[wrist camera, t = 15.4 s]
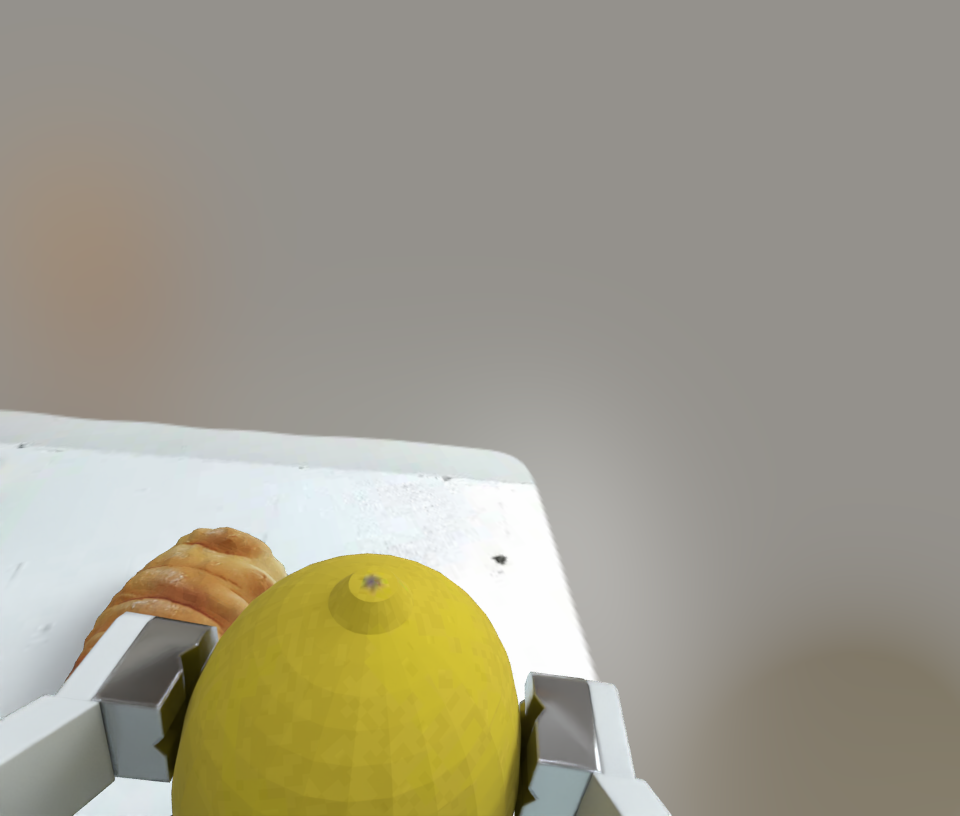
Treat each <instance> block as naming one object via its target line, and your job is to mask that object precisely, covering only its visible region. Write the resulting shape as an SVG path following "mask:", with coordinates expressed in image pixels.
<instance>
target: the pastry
mask: <svg viewBox="0 0 960 816" xmlns="http://www.w3.org/2000/svg"><path fill="white" fill-rule="evenodd" d="M286 576H288V575H287V573H286V571H285V568H284V565H283V564H281V563H280V562H279V561H278V560H277V559H276V558H275V557H274V556H273V554H272V552H271V550H270V548H269V547H268V546H267V545H266V544H265V543H264V542H262V541H261V540H259V539H257V538H255V537H253V536H251V535H249V534H247V533H244V532H241V531H238V530H236V529H233V528H229V527H223V528H217V529H207V528H200V529H196V530H194V531H193V532H192V533H190V534H188V535H185V536H183V537H181V538H180V539H179V540H178V542H177V544H176V545H175V546H173V547H172V548H171V549H169V550H168V551H166V552H164V553H163V554H161V555H159V556H158V557H156V558H155V559H154V560H152V561H151V562H149V563H148V564H147V565H146V566H145V567H144V568H143V569H142V570H140V571H139V572H137V574H136V575H135V576H134V577H132V578H131V579H130V580H129V581H128V582H127V583H126V585H125V586H124V587H123V589H122V590H121V591H120V592H118V593H117V594H116V595H115V596H114V597H113V598H112V601H111V602H110V604H109V605H108V606H107V608H106V609H105V610H104V611H103V613H102V614H101V615H100V616H99V617H98V618H97V620H96V622H95V625H94V628H93V630H92V631H91V632H90V634H89V635H88V636H87V638H86V639H85V642H84V649H83V651H82V653H81V654H80V656H79V658H78V659H77V661H76V662H75V665H74V667H73V669H72V671H71V673H70V674H69V676H68V677H67V679H68V678H69V677H70V675H71V674H72V673H73V672H74V670H75V669H76V668H77V667H78V665H79V664H80V663H81V662H82V660H83V659H84V658H85V657H86V655H87V654H88V653H89V652H90V650H91V649H92V648H93V647H94V645H95V644H96V643H97V642H98V640H99V639H100V638H101V637H102V635H103V634H104V633H105V632H106V631H107V629H108V628H109V627H110V626H111V624H112V623H113V622H114V621H115V619H116V618H118V617H119V616H121V615H122V614H124V613H125V612H133V613H139V614H145V615H152V616H158V617H164V618H170V619H175V620H181V621H187V622H192V623H198V624H204V625H209V626H214V627H217V633H218V641H219V640H220V638H221V637H222V635H223V634H224V633H225V632H226V631H227V629H228V628H229V627H230V626H231V625H232V623H233V622H234V621H235V620H236V619H237V617H238V616H239V615H240V614H241V613H242V612H243V610H244V609H245V608H246V607H247V606H248V605H249V604H250V603H251V602H252V601H253V600H254V599H255V598H257V597H258V596H259V595H261V594H262V593H263V592H265V591H266V590H267V589H269V588H270V587H271V586H273V585H274V584H275V583H276V582H278V581H280V580H281V579H283V578H285V577H286ZM217 643H218V642H217ZM216 645H217V644H216ZM213 650H214V649H213ZM67 679H66V680H67ZM66 680H65V682H66ZM65 682H64V683H65Z"/></svg>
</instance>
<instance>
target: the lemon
mask: <svg viewBox="0 0 960 816" xmlns="http://www.w3.org/2000/svg"><path fill="white" fill-rule="evenodd" d="M520 749H521V721H520V711H519V705H518V699H517V694H516V689H515V685H514V680H513V675H512V670H511V665H510V662H509V659H508V656H507V653H506V651H505V649H504V647H503V645H502V643H501V641H500V639H499V637H498V635H497V633H496V631H495V629H494V627H493V625H492V624H491V622H490V620H489V619H488V617H487V616H486V614H485V613H484V612H483V611H482V610H481V608H480V607H479V606H478V605H477V604H476V603H475V602H474V600H473V599H472V598H471V597H470V596H469V595H468V594H467V593H466V592H465V591H464V590H463V589H461V588H460V587H459V586H457V585H456V584H455V583H453V582H452V581H451V580H449V579H448V578H447V577H445V576H444V575H443V574H441V573H440V572H438V571H435V570H433V569H431V568H429V567H427V566H424V565H422V564H420V563H418V562H415V561H412V560H408V559H404V558H400V557H395V556H391V555H381V554H368V553H366V554H356V555H346V556H339V557H335V558H332V559H328V560H324V561H321V562H317V563H314V564H311V565H309V566H307V567H305V568H303V569H301V570H299V571H296V572H294V573H292V574H290V575H288V576H286V577H285V578H283V579H281V580H280V581H278V582H276V583H275V584H274V585H273V586H271V587H270V588H269V589H267V590H266V591H265V592H263V593H262V594H261V595H259V596H258V597H257V598H255V599H254V600H253V601H252V602H251V603H250V604H249V605H248V606H247V607H246V608H245V609H244V610H243V612H242V613H241V614H240V615H239V616H238V617H237V619H236V620H235V621H234V622H233V623H232V625H231V626H230V627H229V628H228V629H227V631H226V632H225V633H224V634H223V635H222V637H221V638H220V640H219V641H218V643H217V645H216V646H215V648H214V650H213V652H212V654H211V656H210V658H209V660H208V662H207V664H206V666H205V668H204V670H203V672H202V674H201V676H200V678H199V680H198V682H197V684H196V686H195V688H194V691H193V693H192V696H191V698H190V701H189V704H188V708H187V711H186V715H185V718H184V723H183V728H182V733H181V738H180V743H179V748H178V753H177V758H176V763H175V768H174V774H173V781H172V792H171V795H172V813H173V816H513V814H514V809H515V805H516V801H517V795H518V786H519V769H520Z"/></svg>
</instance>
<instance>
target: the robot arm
mask: <svg viewBox="0 0 960 816" xmlns="http://www.w3.org/2000/svg"><path fill="white" fill-rule="evenodd" d="M217 642H218V633H217V627H214V626H209V625H204V624H198V623H192V622H187V621H181V620H175V619H170V618H164V617H158V616H152V615H145V614H139V613H133V612H125V613H124V614H122V615H121V616H119V617H118V618H116V619H115V621H114V622H113V623H112V624H111V626H110V627H109V628H108V629H107V631H106V632H105V633H104V634H103V635H102V637H101V638H100V639H99V640H98V642H97V643H96V644H95V645H94V647H93V648H92V649H91V650H90V652H89V653H88V654H87V655H86V657H85V658H84V659H83V660H82V662H81V663H80V664H79V665H78V667H77V668H76V669H75V670H74V672H73V673H72V674H71V675H70V677H69V678H68V679H67V680H66V682H65V683H64V684H63V685H62V687H61V688H60V689H59V690H58V692H57V693H56V694H55V695H43V696H41V697H39V698H38V699H36V700H34V701H32V702H31V703H29V704H27V705H25V706H24V707H22V708H20V709H18V710H16V711H15V712H13V713H11V714H9V715H8V716H6V717H4V718H2V719H1V720H0V816H73V815H74V814H75V813H77V812H78V811H79V810H80V809H81V808H82V807H84V806H85V805H86V804H87V803H88V802H90V801H91V800H92V799H93V798H94V797H96V796H97V795H98V794H99V793H100V792H102V791H103V790H104V789H105V788H106V787H108V786H109V785H110V784H111V783H112V782H114V781H115V777H122V778H132V779H141V780H150V781H160V782H169V783H170V781H171V779H172V777H173V774H174V768H175V763H176V758H177V753H178V748H179V743H180V738H181V733H182V728H183V723H184V718H185V715H186V711H187V708H188V704H189V701H190V698H191V696H192V693H193V691H194V688H195V686H196V684H197V682H198V680H199V678H200V676H201V674H202V672H203V670H204V668H205V666H206V664H207V662H208V660H209V658H210V656H211V654H212V652H213V649H214V648H215V646H216V644H217ZM519 711H520V721H521V749H520V769H519V786H518V795H517V801H516V805H515V809H514V812H515V816H672V815H671V814H670V813H669V811H668V810H667V809H666V807H665V806H664V805H663V803H662V802H661V801H660V800H659V798H658V797H657V795H656V794H655V793H654V791H653V790H652V789H651V788H650V786H649V785H648V784H647V782H646V781H645V780H642V779H638V778H636V776H635V772H634V767H633V762H632V757H631V752H630V748H629V743H628V738H627V733H626V728H625V723H624V718H623V713H622V709H621V704H620V699H619V694H618V690H617V688H616V686H615V685H614V684H611V683H604V682H597V681H590V680H584V679H581V678H573V677H566V676H558V675H551V674H543V673H536V672H530V673H529V675H528V677H527V680H526V683H525V699H524V700H523V701H521V702H520V704H519Z"/></svg>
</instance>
